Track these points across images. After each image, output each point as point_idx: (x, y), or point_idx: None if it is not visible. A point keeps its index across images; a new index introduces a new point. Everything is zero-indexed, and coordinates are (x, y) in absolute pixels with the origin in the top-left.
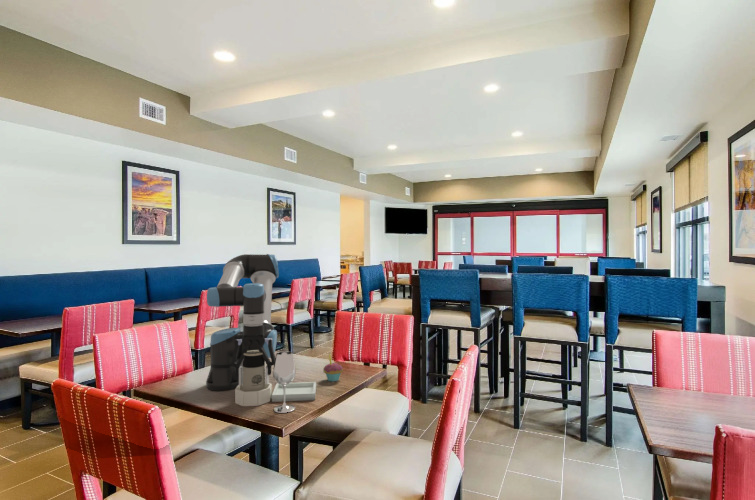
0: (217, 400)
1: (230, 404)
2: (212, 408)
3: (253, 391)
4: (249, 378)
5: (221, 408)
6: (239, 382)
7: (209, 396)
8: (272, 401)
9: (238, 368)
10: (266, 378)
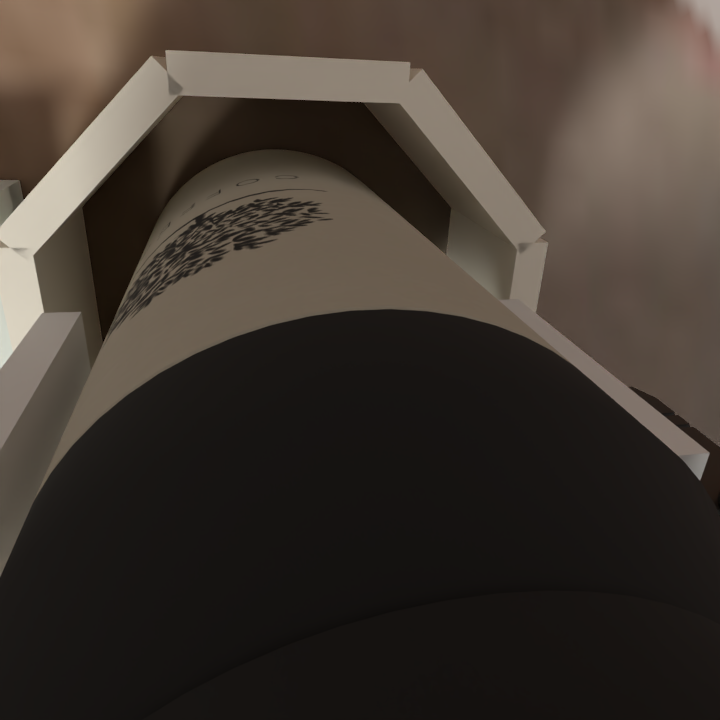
0: (649, 297)
1: (521, 158)
2: (702, 52)
3: (249, 92)
4: (374, 224)
5: (611, 32)
6: (530, 318)
7: (711, 405)
8: (6, 180)
9: (699, 478)
10: (29, 360)
